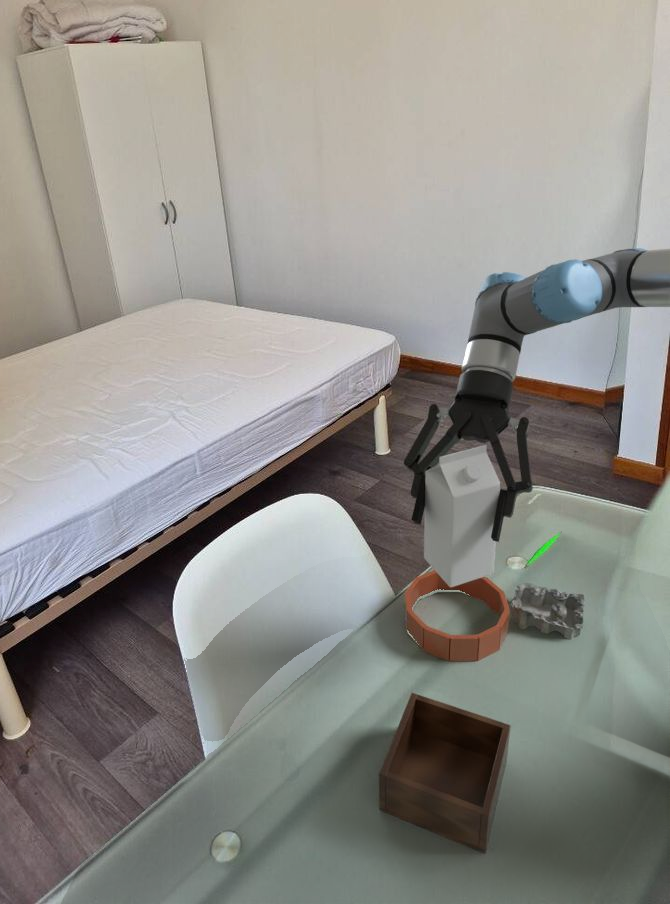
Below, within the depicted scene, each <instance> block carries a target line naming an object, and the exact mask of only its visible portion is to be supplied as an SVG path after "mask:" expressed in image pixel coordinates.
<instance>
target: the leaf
mask: <svg viewBox="0 0 670 904" xmlns="http://www.w3.org/2000/svg"><path fill="white" fill-rule="evenodd" d="M558 535H561V533H560V532H559V533H558V534H556V535H555V536H554V537H552V538H551V539H549V540H547V542H545V544H543V545H542V546H541V548H539V549H538V550H537V552H536V553H535V554H534V555H533V556H532V558H530V560H529V561H528V562H527V563H526V565H525V566H524V567H523V569H524V568H526V567H527V566H529V565H530V564H531V563H533V562H534V561H536V559H538V558H539V557H541V555H542V554H543V553H545V552H546V551H547V550H548V549H549V548H550V547H551V545H552V544H553V543H554V542H555V541H556V540H557V538H558V537H559V536H558Z"/></svg>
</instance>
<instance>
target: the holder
mask: <svg viewBox="0 0 670 904" xmlns="http://www.w3.org/2000/svg"><path fill="white" fill-rule="evenodd" d="M511 726H512V725H511V724H508V723H506V722H503V721H500V720H496V719H493V718H491V717H488V716H484V715H481V714H478V713H475V712H472V711H469V710H465V709H464V708H460V707H457V706H453V705H451V704H448V703H444V702H442V701H439V700H436V699H433V698H429V697H426V696H423V695H421V694H417V693H415V692H410V695H409V698H408V701H407V703H406V706H405V708H404V711H403V713H402V716H401V718H400V720H399V723H398V725H397V728H396V730H395V733H394V735H393V738H392V740H391V742H390V745H389V747H388V750H387V753H386V755H385V758H384V760H383V763H382V764H381V767H380V770H379V772H378V807H379V808H378V809H379V811H381V812H383V813H385V814H388V815H390V816H392V817H394V818H398V819H400V820H402V821H405V822H407V823H410V824H412V825H415V826H417V827H419V828H422V829H424V830H426V831H429V832H432V833H434V834H436V835H439V836H441V837H444V838H446V839H449V840H451V841H454V842H456V843H458V844H460V845H463V846H465V847H467V848H470V849H473V850H476V851H477V852H480V853H482V854H486V852H487V848H488V843H489V839H490V835H491V831H492V827H493V822H494V818H495V813H496V809H497V805H498V801H499V797H500V792H501V787H502V783H503V779H504V775H505V771H506V766H507V762H508V753H509V744H510V735H511Z"/></svg>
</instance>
